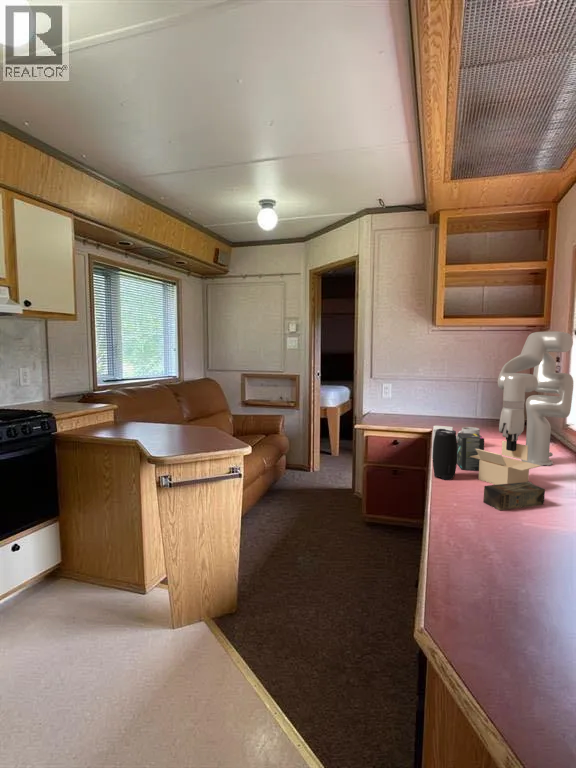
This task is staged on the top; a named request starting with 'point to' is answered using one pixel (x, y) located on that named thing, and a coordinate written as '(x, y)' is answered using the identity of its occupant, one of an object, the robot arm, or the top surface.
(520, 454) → the flap
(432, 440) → the supplement box
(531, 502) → the beverage carton
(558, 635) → the top surface
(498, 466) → the carton
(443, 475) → the portable speaker
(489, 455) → the flap
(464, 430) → the mug
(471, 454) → the tampon box
